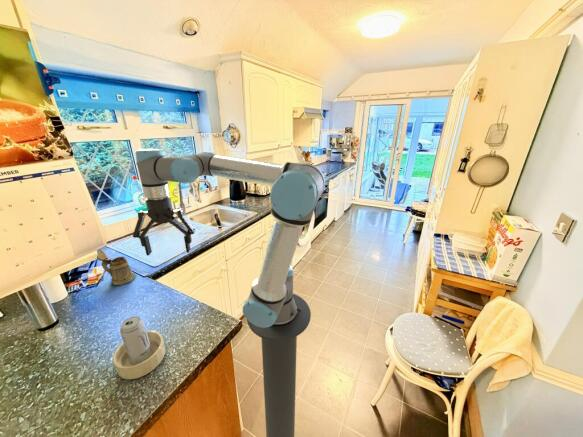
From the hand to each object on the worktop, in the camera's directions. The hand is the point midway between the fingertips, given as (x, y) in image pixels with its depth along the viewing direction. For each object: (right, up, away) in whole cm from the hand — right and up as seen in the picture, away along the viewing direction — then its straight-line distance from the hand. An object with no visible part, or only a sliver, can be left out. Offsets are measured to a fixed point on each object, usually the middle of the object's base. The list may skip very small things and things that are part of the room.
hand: (169, 252), depth 87 cm
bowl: (-3, -33, -11) cm, 35 cm away
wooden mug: (-39, -18, +27) cm, 51 cm away
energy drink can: (-3, -33, -12) cm, 35 cm away
